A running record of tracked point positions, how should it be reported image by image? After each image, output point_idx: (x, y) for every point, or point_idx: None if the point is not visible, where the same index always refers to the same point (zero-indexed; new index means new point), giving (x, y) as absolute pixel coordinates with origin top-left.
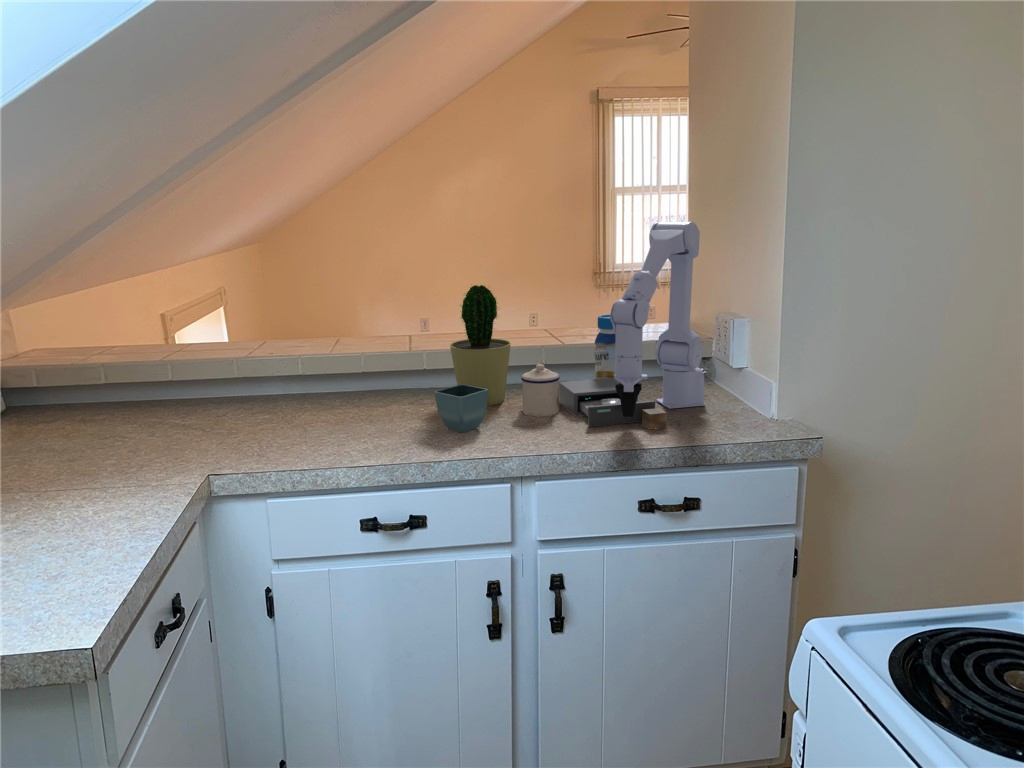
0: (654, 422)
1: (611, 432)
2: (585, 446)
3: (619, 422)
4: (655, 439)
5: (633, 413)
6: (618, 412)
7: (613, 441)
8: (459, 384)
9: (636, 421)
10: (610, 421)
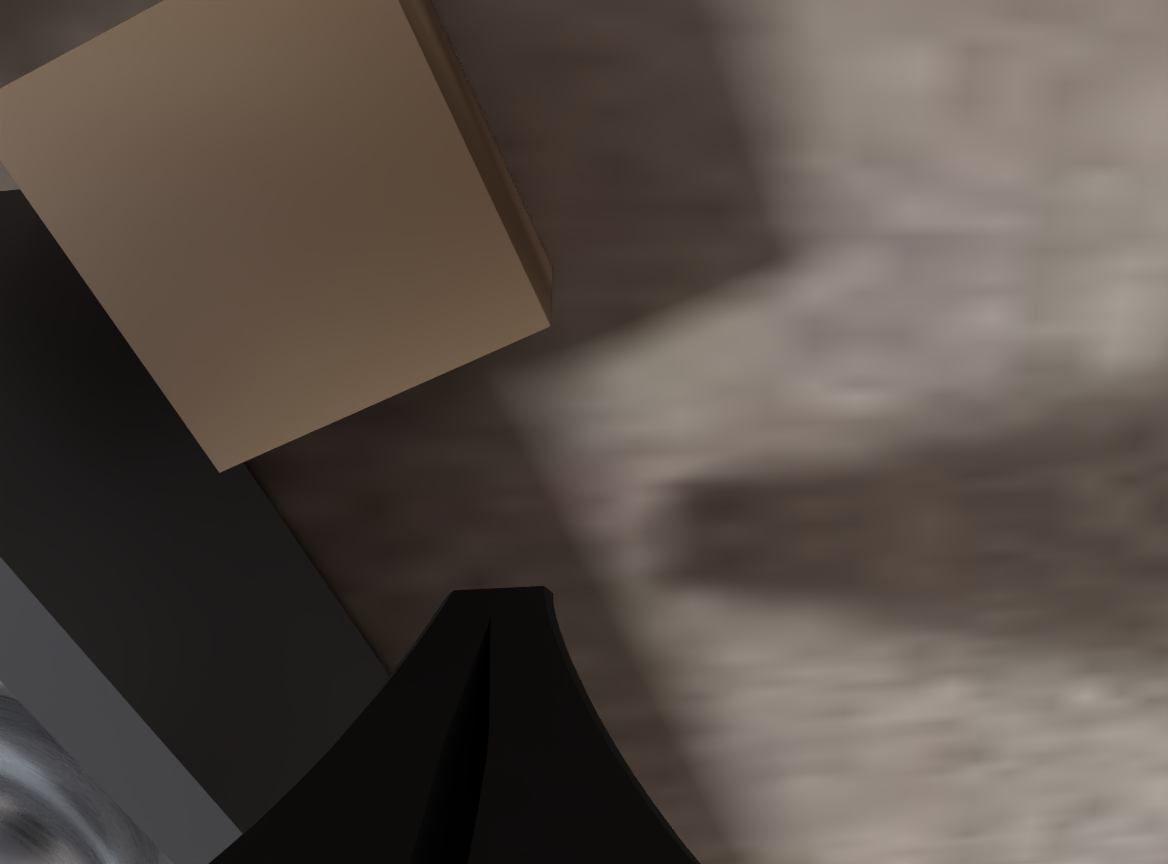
0: (510, 202)
1: (698, 696)
2: (1144, 857)
3: (369, 659)
4: (1010, 175)
5: (552, 612)
6: None
7: (1027, 657)
8: None
9: None
10: None
